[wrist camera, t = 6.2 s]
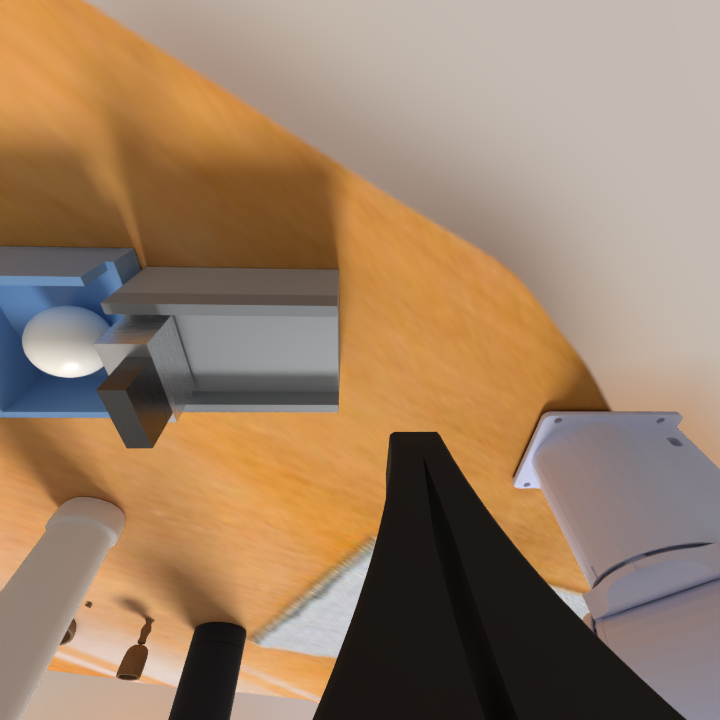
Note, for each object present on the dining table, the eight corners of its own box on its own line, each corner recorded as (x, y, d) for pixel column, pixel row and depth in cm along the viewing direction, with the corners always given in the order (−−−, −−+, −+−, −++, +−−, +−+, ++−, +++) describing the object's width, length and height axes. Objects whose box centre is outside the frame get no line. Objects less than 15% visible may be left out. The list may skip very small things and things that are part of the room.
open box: (134, 248, 17) (90, 277, 14) (178, 376, 22) (152, 417, 19) (-36, 245, 17) (-114, 274, 14) (45, 375, 21) (-2, 417, 18)
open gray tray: (339, 269, 18) (336, 305, 15) (340, 365, 21) (338, 412, 18) (146, 266, 18) (100, 303, 14) (179, 364, 21) (147, 411, 18)
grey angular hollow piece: (172, 314, 16) (119, 376, 12) (195, 388, 18) (157, 458, 14) (125, 313, 16) (58, 376, 12) (155, 387, 18) (106, 458, 14)
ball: (80, 287, 18) (112, 307, 17) (106, 344, 20) (138, 367, 19) (-7, 312, 16) (21, 338, 14) (32, 373, 18) (61, 402, 16)
